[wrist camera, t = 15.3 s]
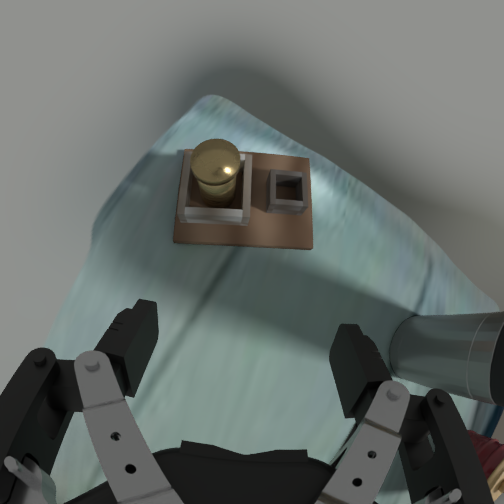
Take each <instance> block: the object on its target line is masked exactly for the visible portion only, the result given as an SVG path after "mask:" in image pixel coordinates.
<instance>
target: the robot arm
mask: <svg viewBox="0 0 504 504" xmlns="http://www.w3.org/2000/svg"><path fill="white" fill-rule="evenodd" d="M158 334H159V328H158V314H157V303H156V302H154V301H148V300H143V299H139V300H138V301H137V302H136V304H135V305H134V307H133V309H129V308H126V309H124V310H123V311H121V312H120V313H118V314H117V316H116V317H115V319H114V320H113V323H111V325H110V326H109V329H107V331H106V332H105V334H104V335H103V337H102V338H101V340H100V341H99V343H98V344H97V346H96V347H95V349H94V350H93V351H86V352H84V353H82V354H80V355H79V356H78V357H77V358H76V360H59V359H56V356H55V354H54V352H53V351H52V350H50V349H48V348H37V349H34V350H32V351H31V352H30V353H29V354H28V355H27V356H26V357H25V359H24V360H23V362H22V363H21V365H20V366H19V368H18V369H17V370H16V372H15V374H14V375H13V377H12V378H11V380H10V381H9V383H8V384H7V386H6V388H5V389H4V391H3V392H2V394H1V395H0V504H57V502H56V486H55V483H54V481H53V479H52V478H51V477H50V473H51V470H52V468H53V465H54V462H55V459H56V456H57V454H58V451H59V448H60V446H61V443H62V441H63V438H64V435H65V433H66V430H67V428H68V426H69V423H70V421H71V418H72V416H73V414H74V412H83V415H84V418H85V422H86V425H87V428H88V431H89V434H90V437H91V440H92V443H93V446H94V449H95V451H96V454H97V457H98V459H99V462H100V464H101V467H102V469H103V471H104V474H105V476H106V478H107V481H106V482H104V483H102V484H100V485H99V486H97V487H95V488H93V489H91V490H89V491H87V492H86V493H84V494H82V495H80V496H78V497H76V498H74V499H72V500H70V501H68V502H66V503H64V504H378V503H377V502H375V501H374V500H375V498H376V496H377V494H378V492H379V490H380V488H381V486H382V484H383V482H384V480H385V478H386V475H387V473H388V471H389V469H390V466H391V464H392V462H393V459H394V457H395V454H396V452H397V449H398V450H399V454H400V457H401V461H402V465H403V469H404V473H405V477H406V481H407V486H408V490H409V494H410V499H411V504H494V501H493V498H492V494H491V491H490V488H489V485H488V482H487V479H486V476H485V474H484V471H483V468H482V465H481V463H480V460H479V458H478V455H477V453H476V450H475V448H474V445H473V443H472V441H471V438H470V436H469V434H468V431H467V429H466V427H465V425H464V423H463V420H462V418H461V416H460V414H459V412H458V410H457V408H456V406H455V404H454V402H453V400H452V398H451V396H450V395H449V394H448V393H450V394H454V395H458V396H461V397H465V398H469V399H473V400H478V401H482V402H486V403H490V404H495V405H499V406H503V407H504V311H502V312H492V313H477V314H458V315H425V316H413V317H410V318H408V319H407V320H405V321H404V322H403V323H402V324H401V325H400V326H399V328H398V329H397V331H396V333H395V335H394V337H393V340H392V343H391V347H390V362H391V366H392V368H393V371H394V372H395V373H396V375H397V376H399V377H400V378H402V379H405V380H408V381H411V382H414V383H417V384H420V385H423V386H426V387H430V388H433V389H431V390H430V391H429V392H428V393H427V394H426V396H425V397H424V396H417V395H411V394H409V391H408V389H407V388H406V387H405V386H404V385H403V384H401V383H399V382H396V381H393V380H392V378H391V376H390V373H389V371H388V369H387V367H386V365H385V363H384V361H383V359H381V358H382V357H381V355H380V353H379V352H378V349H377V347H376V345H375V343H374V342H373V341H372V340H371V339H370V338H369V337H368V336H366V335H363V333H362V331H361V329H360V327H359V325H357V324H341V325H340V326H339V328H338V331H337V334H336V336H335V339H334V342H333V344H332V347H331V349H330V354H329V361H330V365H331V369H332V372H333V376H334V379H335V383H336V387H337V390H338V394H339V397H340V401H341V405H342V409H343V412H344V416H345V418H355V421H356V422H355V424H354V425H353V427H352V428H351V430H350V432H349V434H348V435H347V437H346V439H345V440H344V442H343V444H342V445H341V447H340V448H339V450H338V452H337V453H336V455H335V456H334V458H333V459H332V460H331V461H330V463H329V464H327V463H325V462H322V461H320V460H317V459H314V458H310V457H308V454H307V449H306V450H273V451H268V452H262V453H256V454H250V455H243V454H239V453H236V452H232V451H229V450H226V449H223V448H220V447H217V446H214V445H209V444H202V443H195V442H189V441H183V440H182V442H181V447H180V448H169V449H164V450H160V451H157V452H155V453H151V451H150V449H149V448H148V446H147V444H146V442H145V440H144V438H143V436H142V434H141V432H140V430H139V428H138V426H137V424H136V422H135V420H134V417H133V415H132V413H131V411H130V409H129V406H128V404H127V402H126V400H125V399H124V398H125V395H126V396H129V397H133V398H134V397H135V394H136V392H137V389H138V387H139V384H140V382H141V379H142V377H143V374H144V372H145V369H146V367H147V365H148V362H149V360H150V358H151V355H152V353H153V350H154V348H155V346H156V343H157V340H158ZM429 434H431V436H432V439H433V442H434V445H435V454H433V451H432V448H431V445H430V442H429V440H428V437H427V436H428V435H429Z"/></svg>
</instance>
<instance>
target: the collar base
mask: <svg viewBox="0 0 504 504" xmlns="http://www.w3.org/2000/svg"><path fill="white" fill-rule="evenodd" d="M193 150H194V149H185V152H184V158H183V164H182V171H181V177H180V185H179V192H178V200H177V208H176V217H175V226H174V236H173V242H174V243H184V244H204V245H224V246H244V247H263V248H282V249H300V250H311V249H313V226H312V199H311V180H310V163H309V158H302V157H294V156H286V155H276V154H266V153H254V152H241V151H239V153H240V169H239V172H238V174H237V175H236V188H235V198H234V200H233V202H232V203H231V204H230V205H229V206H228V207H226V208H224V209H221V208H209V207H208V206H206V205H205V204H204V202H203V201H202V198H201V194H200V189H199V185H198V181H197V179H196V178H195V176H194V175H193V172H192V169H191V165H190V157H191V154H192V152H193Z"/></svg>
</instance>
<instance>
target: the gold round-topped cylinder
mask: <svg viewBox="0 0 504 504" xmlns="http://www.w3.org/2000/svg"><path fill="white" fill-rule="evenodd" d="M190 165H191V169H192V172H193V175H194V176H195V178H196V179H197V181H198V185H199V189H200V194H201V198H202V201H203V202H204V204H205V205H206V206H208V207H209V208H221V209H224V208H226V207H228V206H229V205H230V204H231V203H232V202H233V200H234V198H235V188H236V175H237V174H238V172H239V169H240V153H239V151H238V149H237V148H236V147H235V145H233V144H232V143H231V142H229V141H226V140H223V139H210V140H206V141H204V142H202V143H200V144H199V145H198V146H197V147H196V148H195V149H194V150H193V152H192V154H191V157H190Z"/></svg>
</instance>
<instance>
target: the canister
mask: <svg viewBox="0 0 504 504" xmlns="http://www.w3.org/2000/svg"><path fill="white" fill-rule="evenodd" d="M467 431H468V434H469V436H470V438H471V441H472V443H473V445H474V448H475V450H476V453H477V455H478V458H479V460H480V463H481V465H482V468H483V471H484V474H485V476H486V479H487V482H488V485H489V488H490V491H491V494H492V498H493V501H495V500H496V499H497V498H498V497H499V496H500V494H501V493H504V444H501V443H499V441H498V440H497V439H492V438H489V437H486V436H483V435H480V434H477V433H476V432H475V431H472V430H467Z"/></svg>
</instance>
